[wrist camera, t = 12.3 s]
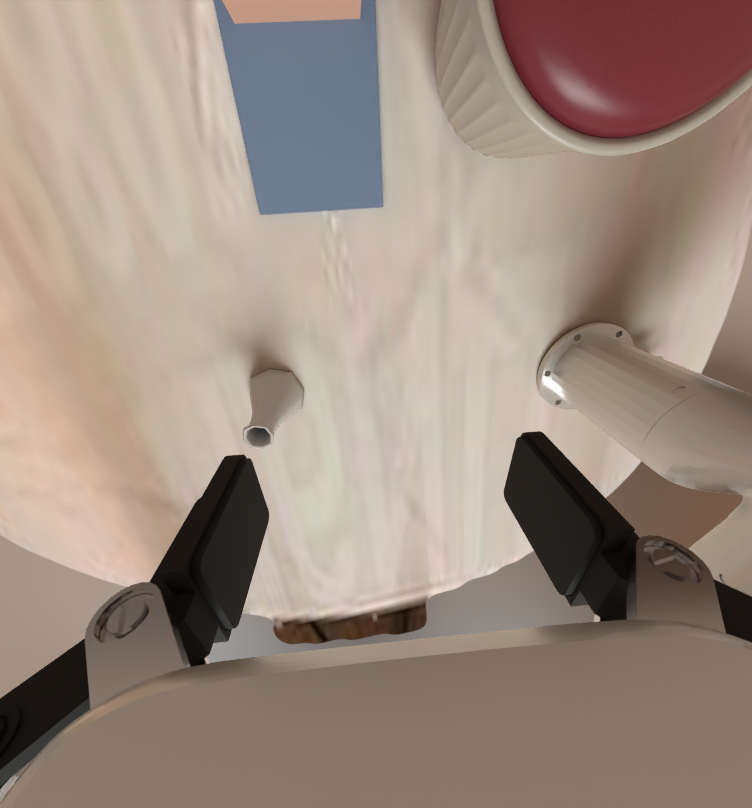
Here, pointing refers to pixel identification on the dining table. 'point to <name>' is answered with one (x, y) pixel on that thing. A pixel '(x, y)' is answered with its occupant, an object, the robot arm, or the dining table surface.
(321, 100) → the multicoloured piece
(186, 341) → the dining table surface
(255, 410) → the flask
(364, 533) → the dining table surface
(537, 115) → the canister
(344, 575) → the dining table surface
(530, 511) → the robot arm
